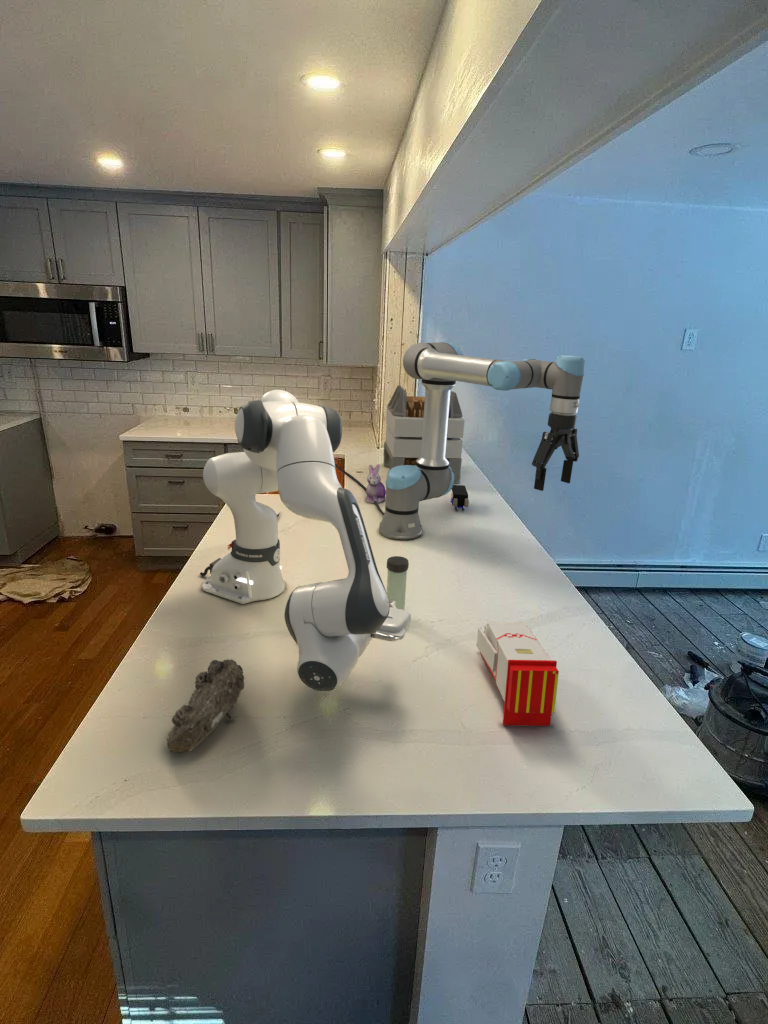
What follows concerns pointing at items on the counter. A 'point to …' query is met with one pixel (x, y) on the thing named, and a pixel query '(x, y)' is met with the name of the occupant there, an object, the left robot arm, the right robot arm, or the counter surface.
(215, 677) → the fossil
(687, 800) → the counter surface
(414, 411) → the grey slatted crate
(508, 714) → the toy
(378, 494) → the figurine
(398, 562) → the lid
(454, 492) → the figurine character
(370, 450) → the counter surface
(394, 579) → the jar
